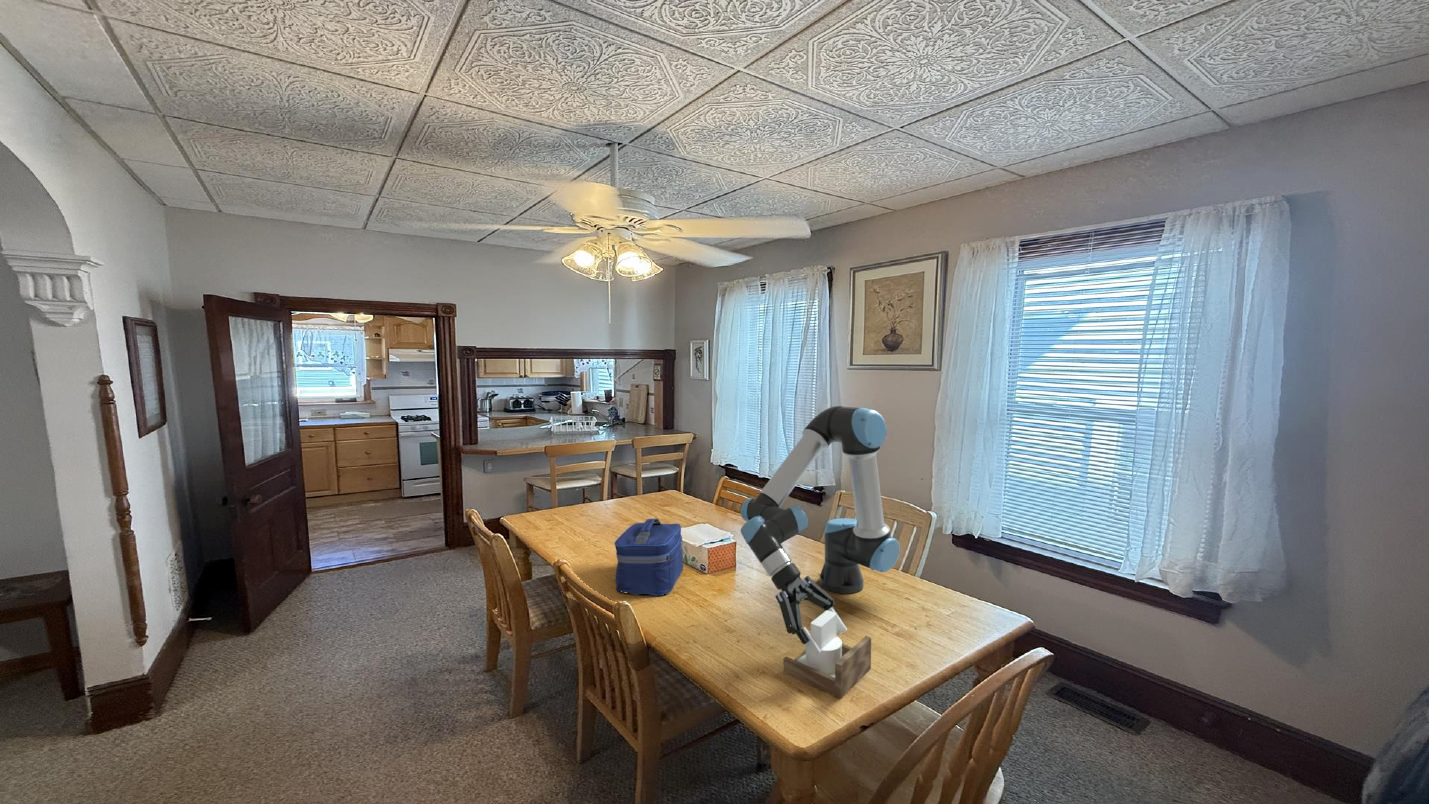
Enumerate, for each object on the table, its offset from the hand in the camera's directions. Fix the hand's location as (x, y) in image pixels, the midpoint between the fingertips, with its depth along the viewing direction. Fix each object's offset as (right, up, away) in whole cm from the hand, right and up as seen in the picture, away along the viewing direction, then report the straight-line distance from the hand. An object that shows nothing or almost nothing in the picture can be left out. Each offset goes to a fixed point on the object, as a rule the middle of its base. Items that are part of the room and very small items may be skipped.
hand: (830, 642), depth 132 cm
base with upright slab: (-1, -6, +2) cm, 7 cm away
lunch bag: (-53, -4, +58) cm, 78 cm away
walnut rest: (-1, -8, +1) cm, 8 cm away
